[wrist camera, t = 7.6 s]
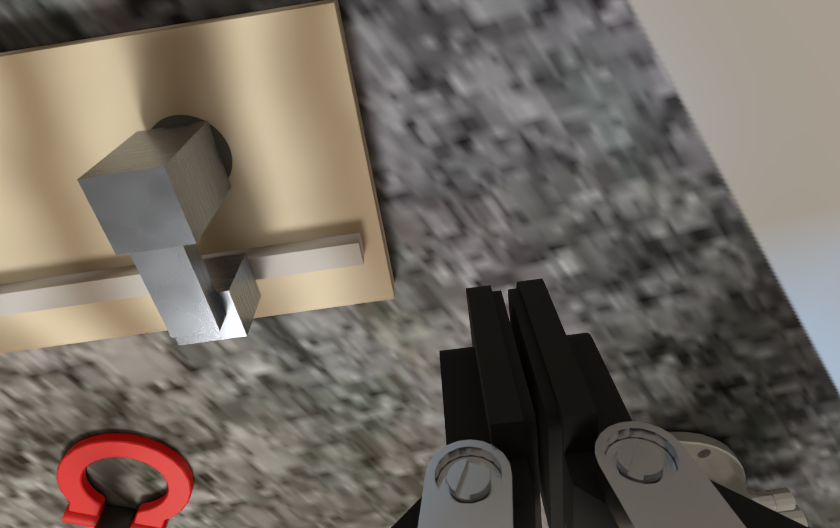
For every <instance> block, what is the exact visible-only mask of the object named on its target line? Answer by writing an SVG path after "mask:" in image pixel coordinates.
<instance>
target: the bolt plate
mask: <svg viewBox="0 0 840 528" xmlns="http://www.w3.org/2000/svg"><path fill="white" fill-rule="evenodd" d="M202 121H208V123H209V126H210V128H211V131H212V134H213V137H214V140H215V143H216V145H217V148H218V151H219V154H220V157H221V159H222V162H223V165H224V168H225V171H226V174H227V176H228V179H229V182H230V185H231V189H230V190H229V192H228V193H227V195H226V197H225V198H224V200H223V201H222V203H221V205H220V206H219V208H218V210H217V211H216V213H215V214H214V216H213V218H212V219H211V221H210V222H209V224H208V226H207V227H206V229H205V230H204V232H203V234H202V235H201V237H200V239H199V240H198V242H197V243H196V244H197V247H198V249H199V251H200V254H201V256H202V259H206V258H213V257H220V256H227V255H234V254H240V253H246V255H247V257H248V260H249V263H250V266H251V268H252V271H253V274H254V277H255V279H256V282H257V285H258V288H259V290H260V293H261V298H260V301H259V304H258V306H257V309H256V312H255V315H254V318H258V317H266V316H273V315H280V314H287V313H294V312H301V311H309V310H316V309H323V308H330V307H337V306H345V305H352V304H359V303H366V302H373V301H380V300H388V299H394V278H393V273H392V268H391V263H390V258H389V253H388V248H387V243H386V238H385V233H384V228H383V223H382V218H381V213H380V208H379V203H378V198H377V193H376V188H375V183H374V178H373V173H372V168H371V163H370V158H369V153H368V148H367V143H366V138H365V133H364V128H363V123H362V118H361V113H360V108H359V103H358V98H357V93H356V88H355V83H354V78H353V73H352V68H351V63H350V58H349V53H348V48H347V43H346V38H345V33H344V28H343V23H342V18H341V13H340V8H339V3H338V0H324V1H318V2H312V3H306V4H299V5H293V6H287V7H281V8H275V9H268V10H262V11H256V12H250V13H244V14H237V15H231V16H225V17H219V18H213V19H207V20H200V21H194V22H188V23H182V24H176V25H169V26H163V27H157V28H151V29H145V30H138V31H132V32H126V33H120V34H114V35H107V36H101V37H95V38H89V39H83V40H77V41H70V42H64V43H58V44H52V45H46V46H39V47H33V48H27V49H21V50H15V51H8V52H2V53H0V353H7V352H14V351H21V350H29V349H36V348H43V347H50V346H57V345H64V344H72V343H79V342H86V341H93V340H100V339H108V338H115V337H122V336H129V335H136V334H143V333H151V332H158V331H165V330H167V328H166V326H165V324H164V322H163V320H162V318H161V316H160V314H159V312H158V310H157V308H156V306H155V304H154V302H153V300H152V298H151V296H150V294H149V292H148V290H147V288H146V286H145V284H144V282H143V280H142V278H141V276H140V274H139V272H138V270H137V268H136V266H135V264H134V262H133V260H132V258H131V256H130V254H122V255H116V254H115V252H114V250H113V248H112V246H111V245H110V243H109V241H108V239H107V237H106V235H105V233H104V231H103V229H102V227H101V225H100V223H99V221H98V219H97V217H96V215H95V214H94V212H93V210H92V208H91V206H90V204H89V202H88V200H87V198H86V196H85V194H84V192H83V190H82V188H81V186H80V184H79V183H78V181H77V179H78V178H80V177H81V176H82V175H83V174H85V173H86V172H87V171H88V170H90V169H91V168H92V167H93V166H95V165H96V164H97V163H98V162H100V161H101V160H102V159H103V158H105V157H106V156H107V155H108V154H110V153H111V152H112V151H113V150H114V149H116V148H117V147H118V146H119V145H121V144H122V143H123V142H124V141H126V140H127V139H128V138H129V137H131V136H132V135H133V134H134V133H136V132H137V131H143V130H150V129H156V128H163V127H169V126H176V125H182V124H189V123H195V122H202Z"/></svg>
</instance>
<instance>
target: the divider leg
mask: <svg viewBox="0 0 840 528" xmlns="http://www.w3.org/2000/svg"><path fill="white" fill-rule="evenodd" d="M77 181H78V183H79V184H80V186H81V188H82V190H83V192H84V194H85V196H86V198H87V200H88V202H89V204H90V206H91V208H92V210H93V212H94V214H95V215H96V217H97V219H98V221H99V223H100V225H101V227H102V229H103V231H104V233H105V235H106V237H107V239H108V241H109V243H110V245H111V246H112V248H113V250H114V252H115V254H116V255H122V254H130V256H131V258H132V260H133V262H134V264H135V266H136V268H137V270H138V272H139V274H140V276H141V278H142V280H143V282H144V284H145V286H146V288H147V290H148V292H149V294H150V296H151V298H152V300H153V302H154V304H155V306H156V308H157V310H158V312H159V314H160V316H161V318H162V320H163V322H164V324H165V326H166V328H167V330H168V332H169V334H170V336H171V338H172V337H175V339H176V341H177V343H178V345H186V344H193V343H200V342H207V341H215V340H222V339H229V338H236V337H244V336H247V334H248V332H249V329H250V326H251V323H252V320H253V318H254V315H255V312H256V309H257V306H258V304H259V301H260V298H261V293H260V290H259V288H258V285H257V282H256V279H255V277H254V274H253V271H252V268H251V266H250V263H249V260H248V257H247V255H246V253H240V254H234V255H227V256H220V257H213V258H206V259H202V256H201V254H200V251H199V249H198V247H197V244H196V243H197V242H198V240H199V239H200V237H201V235H202V234H203V232H204V230H205V229H206V227H207V226H208V224H209V222H210V221H211V219H212V218H213V216H214V214H215V213H216V211H217V210H218V208H219V206H220V205H221V203H222V201H223V200H224V198H225V197H226V195H227V193H228V192H229V190H230V189H231V185H230V182H229V179H228V176H227V174H226V171H225V168H224V165H223V162H222V159H221V157H220V154H219V151H218V148H217V145H216V143H215V140H214V137H213V134H212V131H211V128H210V126H209V123H208V121H202V122H195V123H189V124H182V125H176V126H169V127H163V128H156V129H150V130H143V131H137V132H136V133H134V134H133V135H132V136H131V137H129V138H128V139H127V140H126V141H124V142H123V143H122V144H121V145H119V146H118V147H117V148H116V149H114V150H113V151H112V152H111V153H110V154H108V155H107V156H106V157H105V158H103V159H102V160H101V161H100V162H98V163H97V164H96V165H95V166H93V167H92V168H91V169H90V170H88V171H87V172H86V173H85V174H83V175H82V176H81V177H80V178H78V179H77Z"/></svg>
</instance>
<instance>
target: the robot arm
mask: <svg viewBox="0 0 840 528" xmlns="http://www.w3.org/2000/svg"><path fill="white" fill-rule="evenodd" d="M516 287H517V288H516V289H509V290H508V300H509V313H510V321H509V318H508V314H507V310H506V307H505V303H504V299H503V296H502V292H501V291H493V292H492V289H491V286H490V285H489V286H481V287H473V288H466V294H467V303H468V311H469V320H470V328H471V337H472V345H473V347H468V348H460V349H451V350H443V351H440V366H441V379H442V392H443V404H444V417H445V430H446V443H447V445H446V446H445V447H443V448H442V449H441V450H439V451H438V452H437V453H436V454H435V455H434V456H433V458H432V459H431V460H430V462H429V464H428V467H427V470H426V473H425V480H424V487H423V494H422V497H421V498H420V499H419V500H418V501H417V502H416V503H415V504H414V505H413V506H412V507H411V508H410V509H409V510H408V511H407V512H406V513H405V514H404V515H403V516H402V517H401V518H400V519H399V520H398V521H397V522H396V523H395V524H394V525H393V526H392V527H391V528H542V522H541V502H540V493H541V497H542V501H543V506H544V510H545V514H546V518H547V522H548V526H549V528H809V527H808V524H807V521H806V518H805V516H804V514H803V512H802V510H801V509H800V508H799V507H798V506H797V505H796V503H795V499H794V497H793V495H792V493H791V492H790V491H789V490H788V489H787V488H778V489H770V490H766V491H763V492H753V491H752V490H751V489H746V488H745V482H746V476H745V473H744V469H743V467H742V465H741V463H740V462H739V460H738V459H737V457H736V455H735V454H734V453H733V452H732V451H731V450H730V449H729V448H728V446H727V445H725V444H723V443H722V442H720V441H718V440H717V439H714V438H711V437H708V436H705V435H702V434H696V433H690V432H667V431H665V430H664V429H662V428H660V427H657V426H655V425H652V424H649V423H644V422H636V421H632V420H631V418H630V416H629V413H628V411H627V409H626V407H625V405H624V403H623V401H622V399H621V397H620V395H619V393H618V391H617V389H616V386H615V384H614V382H613V380H612V378H611V376H610V374H609V372H608V370H607V368H606V366H605V364H604V361H603V359H602V357H601V355H600V353H599V351H598V349H597V347H596V345H595V343H594V341H593V339H592V337H591V335H590V334H589V333H581V334H573V335H566V334H565V331H564V329H563V327H562V324H561V322H560V319H559V317H558V314H557V312H556V310H555V307H554V305H553V302H552V300H551V298H550V295H549V293H548V290H547V288H546V286H545V283H544V281H543V279H535V280H527V281H520V282H517V286H516Z"/></svg>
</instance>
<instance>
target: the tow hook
mask: <svg viewBox="0 0 840 528" xmlns="http://www.w3.org/2000/svg"><path fill="white" fill-rule="evenodd" d="M109 457H126V458H132V459H137V460H139V461H142V462H145V463H147V464H149V465H151V466H152V467H154V468H156V469H157V470H158V471H159V472H160V473H161V474H162V475H163V476H164V478H165V480H166V481H167V485H168V491H167V493H166V494H165V495H163V496H162V497H161V498H159V499H157V500H154V501H152V502H148V503H142V504H141V505H140V506H139V509H138V511H135V510H130V509H125V508H120V507H115V506H110V505H107V506H104V503H105V499H106V498H105V497H104V496H103V495H102V494H100V493H98V492H97V491H96V490H95V489H94V488H93V487H92V486H91V485H90V483H89V482H88V480H87V477H86V474H85V473H86V467H87V466H89V465H90V464H91V463H92V462H95V461H97V460H100V459H103V458H109ZM57 482H58V485H59V488H60V490H61V492H62V493H63V494H64V496H65V497H66V498H67V500H68V501H69V502H70V503H69V504H68V506H67V508H66V510H65V512H64V515H63V518H62V522H67V523H72V524H77V525H83V526H88V527H94V528H167V525H168V519H169V518H171V517H173V516H174V515H176V514H177V513H179V512H180V511H182V510H183V508H184V507H185V506H186V504H187V503H188V502H189V499H190V496H191V493H192V489H193V486H194V481H193V474H192V471H191V470H190V468H189V466H188V464H187V462H186V461H185V460H184V459H183V458H182V457H181V456H180V455H179V454H178V453H177V452H175V451H174V450H172V449H170V448H169V447H167V446H165V445H164V444H162V443H159V442H157V441H154V440H152V439H149V438H146V437H142V436H137V435H132V434H125V433H107V434H101V435H95V436H91V437H89V438H86V439H84V440H81V441H79V442H77V443H76V444H75V445H74V446H73V447H71V448H70V449H69V450H68V451H67V453H66V454H65V456H64V457H63V459H62V461H61V463H60V464H59V466H58V468H57Z"/></svg>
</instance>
